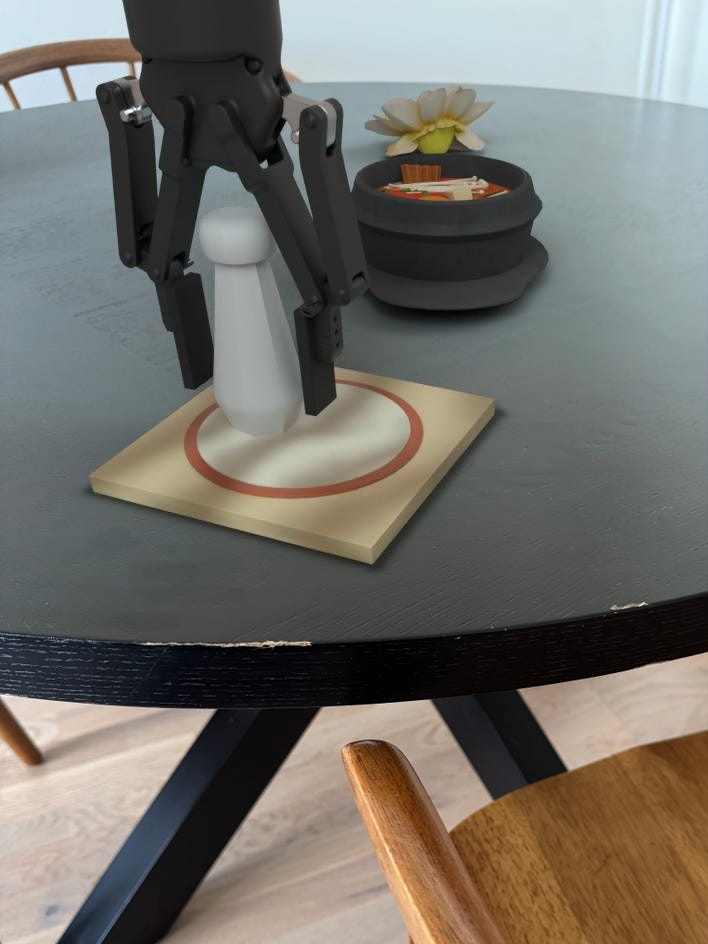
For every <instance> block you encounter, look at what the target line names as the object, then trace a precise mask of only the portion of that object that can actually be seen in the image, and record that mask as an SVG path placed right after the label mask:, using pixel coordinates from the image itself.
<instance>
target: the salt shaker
mask: <svg viewBox="0 0 708 944" xmlns="http://www.w3.org/2000/svg"><path fill="white" fill-rule="evenodd" d="M198 238H199V242H200V247H201V251H202V254H203V255H204V257H205V258H206V259H208V260H209V261H211V262H213V263H214V333H213V334H214V336H213V346H214V369H213V377H212V378H213V380H212V384H213V390H214V396H215V399H216V402H217V404H218V405H219V407H220V408H221V410H222V411H223V413H224V414H225V416H226V417H227V419H228V420H229V422H230V423H231V425H232V426H233V428H234V429H237V430H239V431H242V432H244V433H247V434H249V435H251V436H254V437H256V436H264V435H272V434H279V433H284V432H285V431H286V430H287V429H288V428H289V427H290V426H292V425H293V424H294V423H295V422H296V421H297V420H298V417H299V414H300V410H301V407H302V404H303V401H304V398H303V390H302V381H301V373H300V364H299V356H298V352H297V350H296V347H295V346H296V345H295V343H294V340H293V336H292V333H291V329H290V325H289V323H288V319H287V316H286V313H285V309H284V306H283V303H282V300H281V296H280V292H279V289H278V286H277V282H276V279H275V276H274V273H273V269H272V266H271V263H270V258H271V257H273V255H274V254H276V253H277V247H278V245H277V243H276V241H275V239H274V237H273V235H272V233H271V231H270V228H269V226H268V224H267V222H266V220H265V218H264V216H263V214H262V211H261V209H260V208H257V207H251V206H245V205H234V206H233V205H231V206H224V207H219V208H216V209H213V210H210V211H208V212H207V213H205V214H204V216H202V218H201V219H200V221H199V222H198Z"/></svg>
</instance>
